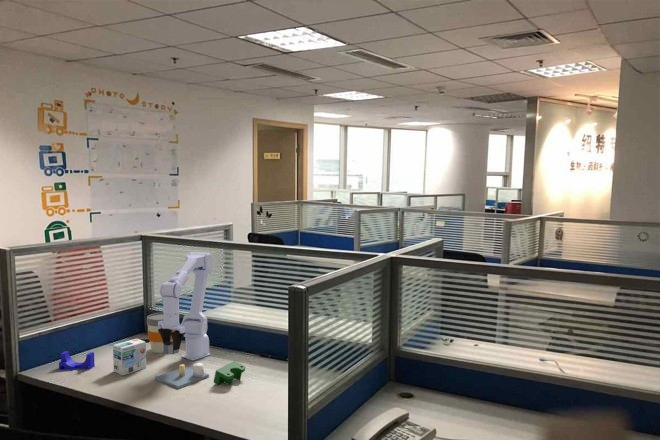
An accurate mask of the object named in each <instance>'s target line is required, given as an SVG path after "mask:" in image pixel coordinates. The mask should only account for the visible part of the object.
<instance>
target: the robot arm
mask: <svg viewBox="0 0 660 440" xmlns="http://www.w3.org/2000/svg"><path fill="white" fill-rule="evenodd" d="M213 262H214V259H213V256H212V254H211V253H210V252H196V251H195V252H193V251H188V252H187V254H186V255H185V263H184V264H183V266H182V267H181V269H179V270H178V269H177V270H176V271H175V272H174V274H173V275H172V276H171V278H169V280H168V281H164V282H163V283H162V284H161V286H160V290H159V293H160V296H161V301H162V303H163V305H162V306H163V312H164V321H159V322H158V326H159V327H161V328H160V329H158V332H159V333H160V335H161V337H162V340H163V344H164V342H167V341H170V339H171V337H172V340H173V348H174V350H178V349H179V350H180V348H181V344H182V341H183V338H185V343H184V344H185V354H182V355H181V358H184V359H187V360H189V361H196V360H200V359H202V358H205V357H208V356H210V355H211V353H210V339H209V336H208V335H207V331H208V317H207V316H206V315H205V314H204V313H203V308H204V301H205V296H206V295H205V294H206V290H207V289H206V288H207V281H208V275H209V274H210V273H211V272H212V267H213ZM191 273H194V275H195V276H194V284H193V290H192V296H191V303H190V309H189V312H188V313H186V314H184V316H183V318H182V322H181V323H180V296H181V295H182V292H183V289H184V288H183V287H184V286H185V284H186V283H187V282H188V281H189V275H190V274H191ZM172 330H174V331H175V332H172ZM171 332H172V333H171Z"/></svg>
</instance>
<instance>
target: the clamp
mask: <svg viewBox="0 0 660 440" xmlns="http://www.w3.org/2000/svg"><path fill="white" fill-rule="evenodd" d="M245 371H246V366H245V365H243V364H241V363H239V362H238V361H236V360H233V361H231V362H229V363H228V364H225V365H223V366H222V367H221V366H220V367H219V368H218V369H215V371H214V372H215V374H214V377H213V383H214V384H215V385H217V386H220V385H222V384H224V383H225V384H226V385H229V386H233V383H234V380H237V381H241V379H242V374H243V373H244V372H245Z"/></svg>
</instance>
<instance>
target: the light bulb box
mask: <svg viewBox="0 0 660 440" xmlns="http://www.w3.org/2000/svg"><path fill="white" fill-rule="evenodd" d="M112 346H113V347H112V349H113V350H112V351H113V352H112V353H113V354H112V355H113V356H112V357H113V358H112V359H113V372H115V373H116V374H118V375H120V376H124V375H128V374H131V373H134V372H137V371H141V370H145V369H147V342H146V341H145V340H141V339H140V338H134V339H130V340H127V341H123V342H119V343H116V344H113V345H112Z"/></svg>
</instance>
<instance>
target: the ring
mask: <svg viewBox="0 0 660 440" xmlns="http://www.w3.org/2000/svg"><path fill="white" fill-rule="evenodd" d="M163 350H164V353H163V354H165V355H175V354H178V353H180V349H178V350H174V348H173V341H167V342H164V344H163Z"/></svg>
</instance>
